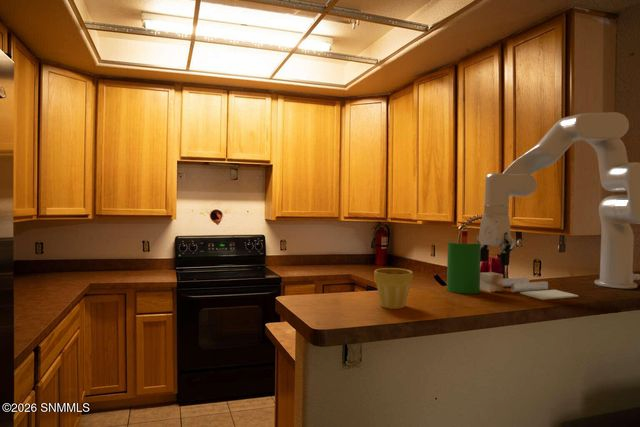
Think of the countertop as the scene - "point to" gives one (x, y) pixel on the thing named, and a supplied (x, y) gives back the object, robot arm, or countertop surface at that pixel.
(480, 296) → the countertop surface
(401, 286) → the plant pot
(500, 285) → the plug block
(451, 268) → the green cylinder
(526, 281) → the housing channel
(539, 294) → the pad
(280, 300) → the countertop surface
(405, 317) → the countertop surface
